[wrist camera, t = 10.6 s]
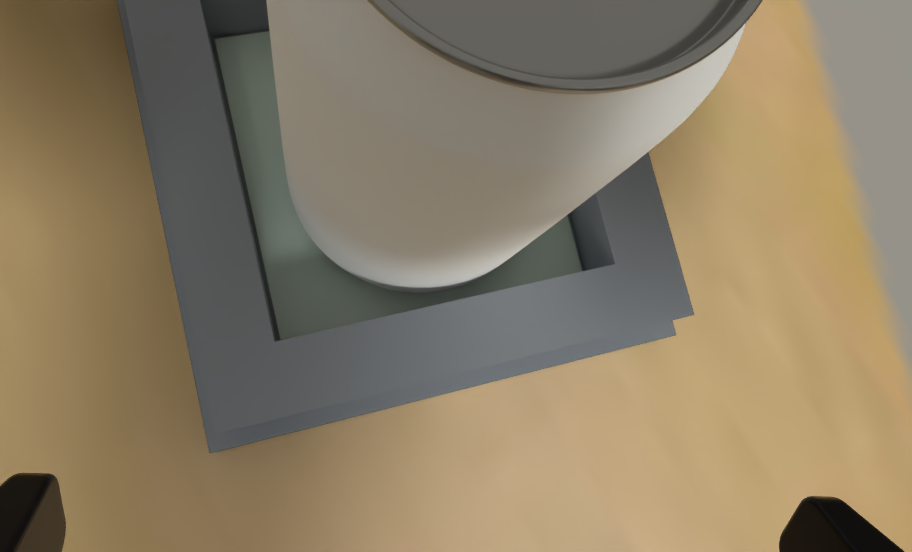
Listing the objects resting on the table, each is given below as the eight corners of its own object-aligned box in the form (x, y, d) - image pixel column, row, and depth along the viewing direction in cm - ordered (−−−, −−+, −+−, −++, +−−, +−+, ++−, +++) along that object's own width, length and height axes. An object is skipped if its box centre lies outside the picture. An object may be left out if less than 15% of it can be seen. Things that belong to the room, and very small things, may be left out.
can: (297, 34, 20) (280, -477, 9) (542, 68, 21) (824, -346, 10) (271, 284, 19) (211, 86, 7) (532, 307, 20) (837, 166, 8)
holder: (663, 337, 22) (714, 326, 19) (214, 451, 19) (197, 458, 16) (551, -65, 23) (583, -129, 20) (119, -9, 20) (90, -73, 18)
